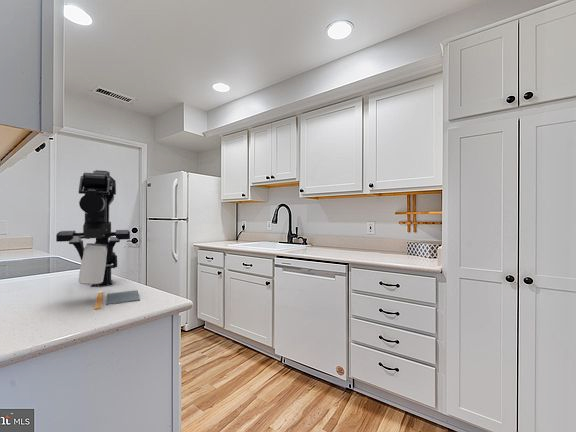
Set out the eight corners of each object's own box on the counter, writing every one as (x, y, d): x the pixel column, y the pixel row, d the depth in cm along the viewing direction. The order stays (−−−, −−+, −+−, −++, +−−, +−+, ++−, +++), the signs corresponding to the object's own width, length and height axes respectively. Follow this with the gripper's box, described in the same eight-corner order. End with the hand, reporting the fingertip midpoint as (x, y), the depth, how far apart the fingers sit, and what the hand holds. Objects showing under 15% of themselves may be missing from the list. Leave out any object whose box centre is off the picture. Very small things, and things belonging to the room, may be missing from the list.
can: (90, 285, 85) (96, 245, 85) (72, 282, 86) (79, 243, 87) (107, 282, 91) (113, 245, 92) (91, 279, 92) (97, 243, 93)
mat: (107, 294, 95) (107, 293, 95) (137, 291, 100) (137, 290, 100) (106, 305, 85) (106, 303, 85) (139, 300, 90) (139, 299, 90)
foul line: (98, 293, 96) (98, 292, 96) (103, 293, 97) (103, 292, 97) (94, 309, 81) (94, 308, 81) (100, 308, 82) (100, 307, 82)
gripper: (52, 213, 77) (52, 270, 78) (130, 213, 87) (130, 264, 87) (60, 212, 87) (60, 263, 87) (129, 213, 96) (129, 259, 97)
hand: (95, 262), depth 89 cm, fingers closed on can, 6 cm apart
